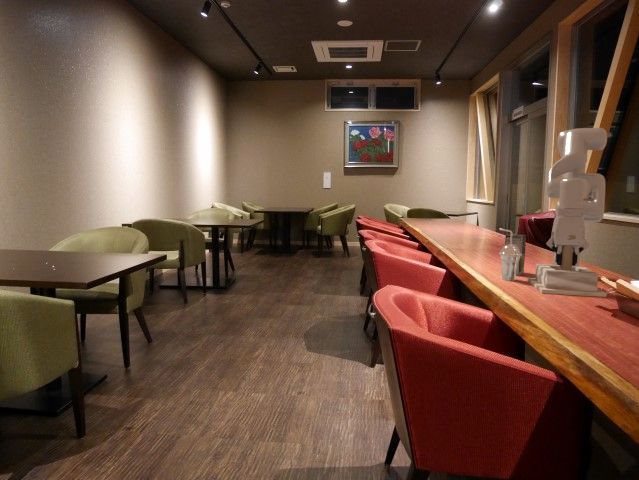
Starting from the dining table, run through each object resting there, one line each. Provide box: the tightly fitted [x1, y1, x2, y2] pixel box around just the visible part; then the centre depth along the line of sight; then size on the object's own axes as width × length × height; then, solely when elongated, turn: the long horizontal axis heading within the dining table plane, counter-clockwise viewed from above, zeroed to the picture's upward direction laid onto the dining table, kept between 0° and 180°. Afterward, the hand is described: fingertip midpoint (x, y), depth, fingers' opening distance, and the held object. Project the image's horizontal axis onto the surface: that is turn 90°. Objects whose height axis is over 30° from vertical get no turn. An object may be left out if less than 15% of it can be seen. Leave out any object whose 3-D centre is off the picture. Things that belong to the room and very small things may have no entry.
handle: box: [560, 235, 576, 271], centre depth 172 cm, size 5×6×15 cm
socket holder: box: [527, 263, 607, 298], centre depth 173 cm, size 22×20×7 cm
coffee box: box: [504, 233, 527, 276], centre depth 202 cm, size 9×6×16 cm
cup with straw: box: [498, 228, 522, 282], centre depth 188 cm, size 8×9×20 cm
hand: (565, 264), depth 173 cm, fingers closed on handle, 4 cm apart
